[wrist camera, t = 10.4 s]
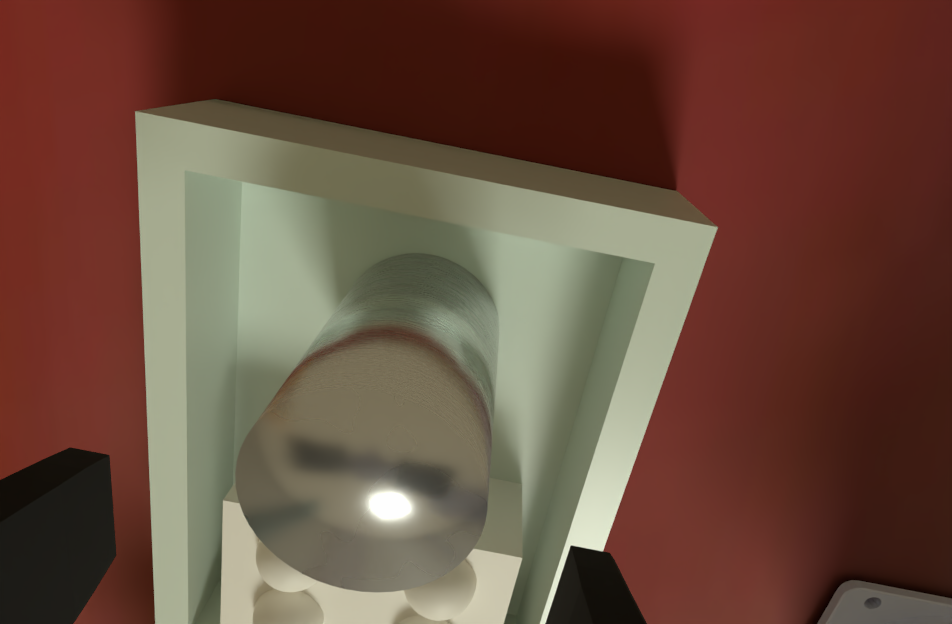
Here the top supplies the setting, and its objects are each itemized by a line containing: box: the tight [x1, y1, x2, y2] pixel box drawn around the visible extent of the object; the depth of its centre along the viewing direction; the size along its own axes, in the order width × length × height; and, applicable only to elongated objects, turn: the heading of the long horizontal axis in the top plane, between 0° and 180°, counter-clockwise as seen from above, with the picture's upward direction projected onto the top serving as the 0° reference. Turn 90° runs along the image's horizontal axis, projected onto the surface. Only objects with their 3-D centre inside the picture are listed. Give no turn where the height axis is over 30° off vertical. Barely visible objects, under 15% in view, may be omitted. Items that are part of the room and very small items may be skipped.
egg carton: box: [220, 478, 522, 624], centre depth 18 cm, size 8×5×4 cm, turn 80°
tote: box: [135, 99, 718, 624], centre depth 17 cm, size 12×16×4 cm
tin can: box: [235, 253, 500, 593], centre depth 14 cm, size 4×4×7 cm
